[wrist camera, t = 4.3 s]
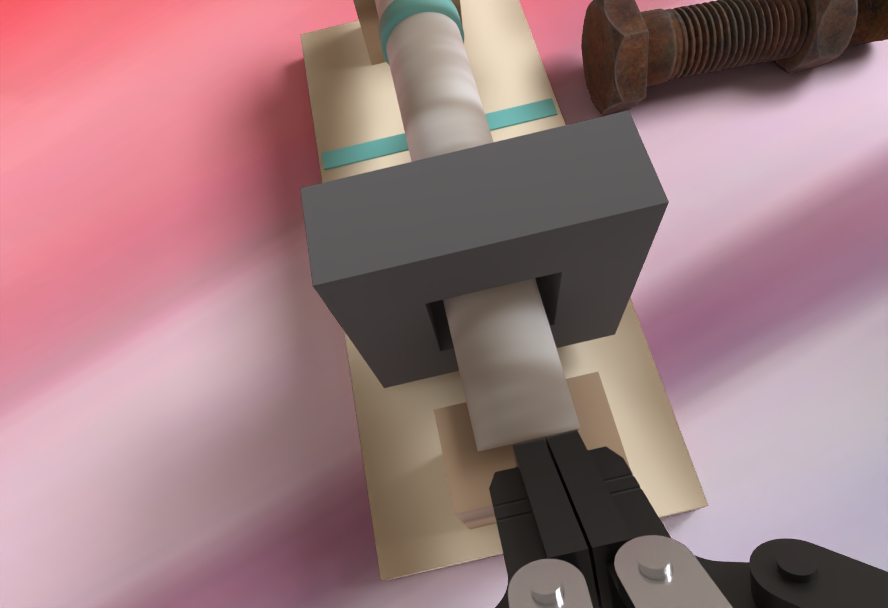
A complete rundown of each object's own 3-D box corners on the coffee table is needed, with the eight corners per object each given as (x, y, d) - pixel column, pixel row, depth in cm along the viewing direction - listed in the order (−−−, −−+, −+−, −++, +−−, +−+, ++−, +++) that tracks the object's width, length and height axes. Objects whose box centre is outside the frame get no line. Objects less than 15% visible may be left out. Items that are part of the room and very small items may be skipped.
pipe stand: (512, 6, 35) (511, -172, 27) (697, 509, 23) (798, 471, 15) (308, 55, 35) (244, -107, 27) (388, 580, 23) (318, 581, 15)
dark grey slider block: (590, 266, 24) (628, 110, 16) (614, 334, 23) (668, 201, 15) (372, 317, 25) (300, 188, 16) (384, 388, 23) (313, 285, 15)
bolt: (862, 72, 33) (589, 123, 33) (851, -24, 32) (573, 27, 32) (955, 33, 27) (623, 95, 27) (942, -84, 27) (605, -22, 27)
